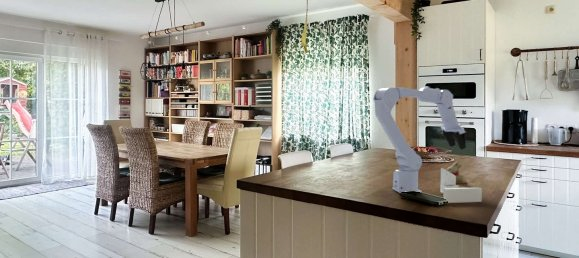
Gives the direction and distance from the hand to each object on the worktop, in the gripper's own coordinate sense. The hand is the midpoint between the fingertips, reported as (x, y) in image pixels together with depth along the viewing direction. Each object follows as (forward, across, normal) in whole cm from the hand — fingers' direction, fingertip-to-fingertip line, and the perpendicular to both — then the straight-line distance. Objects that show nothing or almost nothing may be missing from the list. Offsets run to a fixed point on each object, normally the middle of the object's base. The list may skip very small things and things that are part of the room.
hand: (457, 147), depth 159 cm
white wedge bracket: (+14, -8, +14) cm, 21 cm away
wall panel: (+12, -22, +16) cm, 30 cm away
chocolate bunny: (+20, +12, 0) cm, 23 cm away
